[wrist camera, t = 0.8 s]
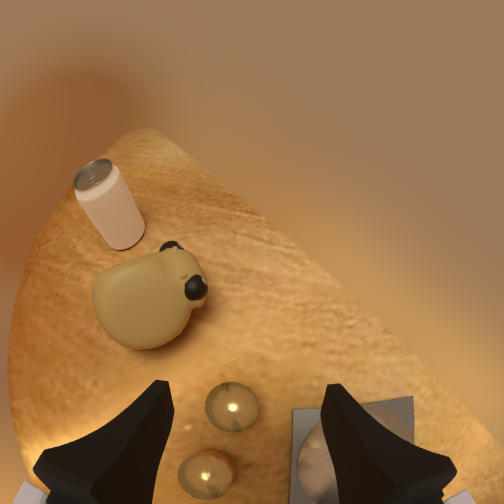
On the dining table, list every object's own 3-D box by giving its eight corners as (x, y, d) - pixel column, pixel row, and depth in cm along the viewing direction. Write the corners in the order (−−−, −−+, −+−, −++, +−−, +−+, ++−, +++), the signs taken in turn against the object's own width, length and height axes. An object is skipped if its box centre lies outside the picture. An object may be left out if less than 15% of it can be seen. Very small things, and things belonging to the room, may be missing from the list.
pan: (407, 495, 16) (409, 496, 15) (293, 515, 16) (294, 517, 16) (409, 396, 22) (412, 395, 22) (298, 409, 23) (299, 409, 23)
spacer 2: (235, 489, 19) (229, 502, 15) (191, 483, 20) (176, 494, 16) (237, 451, 22) (231, 458, 18) (193, 446, 22) (178, 451, 18)
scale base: (401, 524, 14) (417, 533, 11) (284, 544, 15) (287, 559, 12) (408, 397, 23) (425, 392, 20) (292, 409, 24) (296, 408, 21)
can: (140, 210, 40) (112, 149, 30) (150, 239, 37) (117, 175, 27) (105, 228, 39) (70, 171, 29) (111, 258, 36) (69, 200, 26)
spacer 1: (258, 430, 23) (257, 433, 19) (214, 427, 23) (203, 429, 19) (260, 388, 26) (259, 383, 22) (216, 386, 26) (207, 380, 22)
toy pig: (230, 326, 30) (213, 280, 21) (137, 372, 27) (84, 346, 18) (193, 261, 35) (170, 203, 26) (112, 303, 32) (67, 257, 23)
